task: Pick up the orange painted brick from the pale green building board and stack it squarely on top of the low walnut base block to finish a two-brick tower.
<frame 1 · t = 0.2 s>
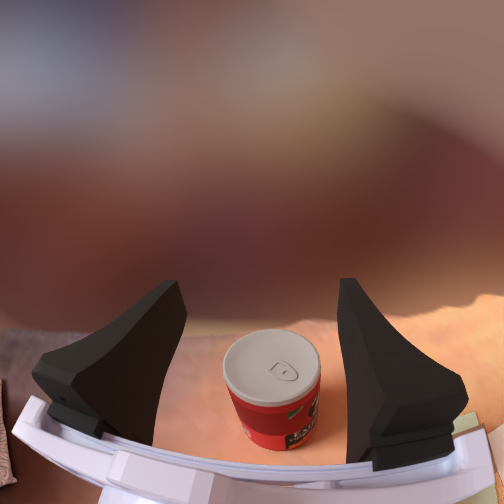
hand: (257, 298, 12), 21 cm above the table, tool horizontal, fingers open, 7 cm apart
board: (434, 491, 15), on the table
canned food: (279, 422, 27), on the table
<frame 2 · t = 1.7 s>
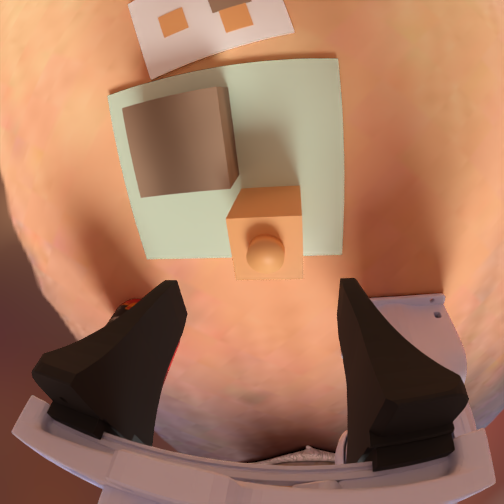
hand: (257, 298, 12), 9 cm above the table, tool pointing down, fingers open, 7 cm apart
base block: (190, 137, 18), resting on board
board: (225, 167, 19), on the table
brick: (272, 213, 20), resting on board
cookie jar: (309, 465, 50), on the table
instruction card: (204, 10, 13), on the table
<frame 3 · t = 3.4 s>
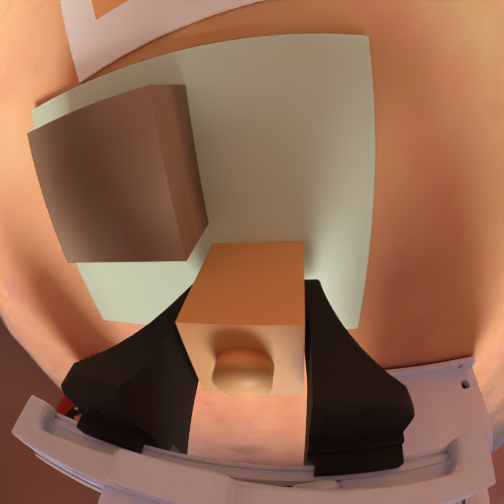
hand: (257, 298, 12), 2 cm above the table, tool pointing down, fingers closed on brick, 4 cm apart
base block: (133, 166, 11), resting on board
board: (187, 210, 13), on the table
canned food: (120, 378, 23), on the table
brick: (260, 279, 14), resting on board, touching gripper
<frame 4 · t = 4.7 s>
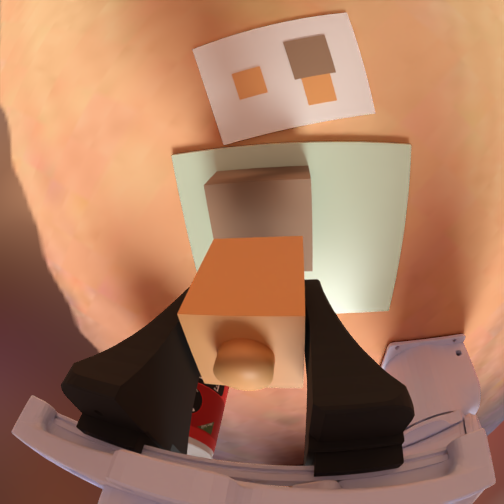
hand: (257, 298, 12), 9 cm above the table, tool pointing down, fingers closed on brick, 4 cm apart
base block: (265, 210, 20), resting on board
board: (296, 239, 21), on the table
canned food: (199, 362, 31), on the table
brick: (261, 274, 14), point 7 cm above the table, touching gripper
instruction card: (284, 74, 15), on the table
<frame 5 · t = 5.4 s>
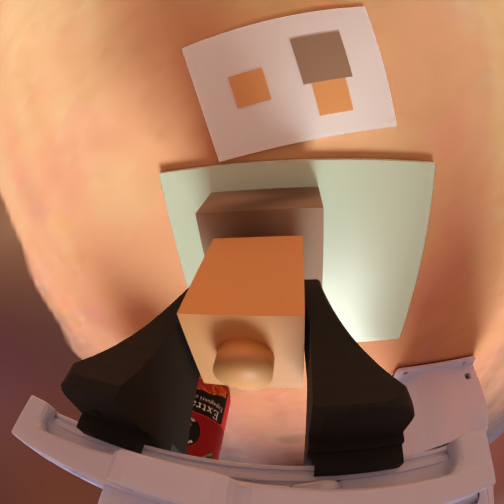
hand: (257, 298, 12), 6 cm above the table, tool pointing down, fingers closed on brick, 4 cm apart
base block: (268, 237, 17), resting on board
board: (302, 267, 18), on the table
canned food: (197, 386, 28), on the table
brick: (261, 274, 14), point 4 cm above the table, touching gripper
instruction card: (291, 77, 13), on the table
when the fingers open (6 cm above the table, at t = 6.1 s): brick stays where it is, resting on base block.
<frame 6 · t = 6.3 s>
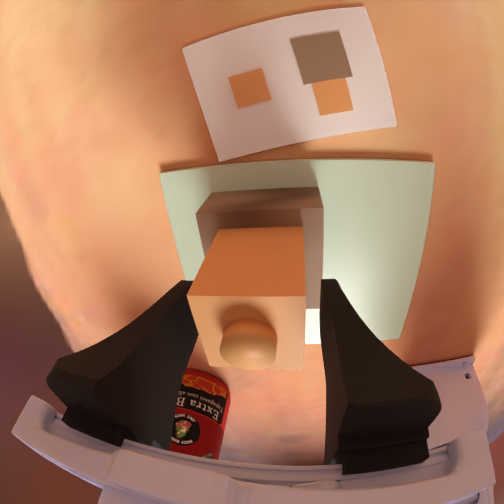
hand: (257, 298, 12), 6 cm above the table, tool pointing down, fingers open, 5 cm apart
base block: (268, 237, 17), resting on board, touching brick
board: (302, 267, 18), on the table
canned food: (197, 386, 28), on the table
brick: (263, 263, 15), point 3 cm above the table, touching base block
instruction card: (291, 78, 13), on the table
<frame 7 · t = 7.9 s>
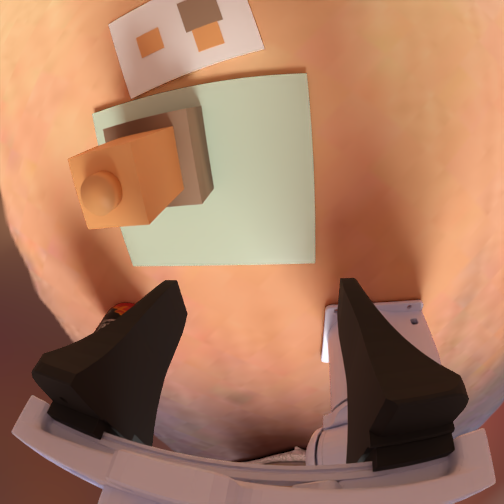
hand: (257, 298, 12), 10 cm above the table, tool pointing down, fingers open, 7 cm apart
base block: (167, 153, 19), resting on board, touching brick
board: (201, 181, 20), on the table
canned food: (138, 325, 30), on the table
brick: (149, 162, 17), point 3 cm above the table, touching base block
cookie jar: (300, 465, 52), on the table
instruction card: (179, 30, 15), on the table
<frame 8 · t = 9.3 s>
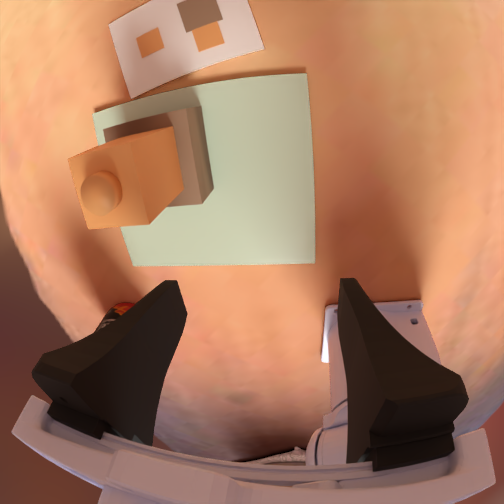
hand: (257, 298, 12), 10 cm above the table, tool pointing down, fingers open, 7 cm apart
base block: (167, 153, 19), resting on board, touching brick
board: (201, 181, 20), on the table
canned food: (138, 325, 30), on the table
brick: (149, 162, 17), point 3 cm above the table, touching base block
cookie jar: (300, 466, 52), on the table
instruction card: (179, 30, 15), on the table
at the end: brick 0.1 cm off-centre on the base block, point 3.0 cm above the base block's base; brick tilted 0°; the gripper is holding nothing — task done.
